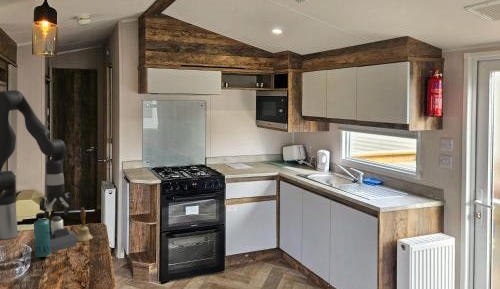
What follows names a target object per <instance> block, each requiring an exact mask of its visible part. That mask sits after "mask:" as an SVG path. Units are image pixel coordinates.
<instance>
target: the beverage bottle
mask: <svg viewBox="0 0 500 289" xmlns="http://www.w3.org/2000/svg"><path fill="white" fill-rule="evenodd" d="M35 219H36V220H37V221H34V223H33V235H34V254H35V257H38V258H44V257H47V256H49V255H51V253H52V252H51V246H50V241H51V240H50V229H49V227H50V221H49V220H48V219H46V213H44V212H38V213H36V214H35Z"/></svg>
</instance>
